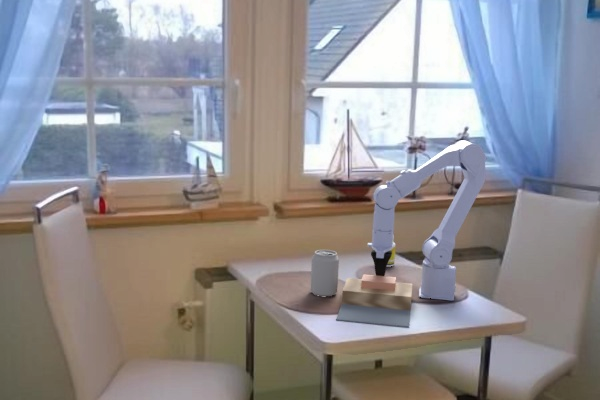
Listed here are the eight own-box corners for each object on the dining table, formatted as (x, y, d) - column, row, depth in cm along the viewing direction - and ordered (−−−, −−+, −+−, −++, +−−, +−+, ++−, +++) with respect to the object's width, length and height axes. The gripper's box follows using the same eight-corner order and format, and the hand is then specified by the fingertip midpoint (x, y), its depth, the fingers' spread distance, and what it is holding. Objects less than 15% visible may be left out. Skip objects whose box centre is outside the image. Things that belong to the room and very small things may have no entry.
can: (328, 300, 196) (330, 257, 194) (305, 294, 200) (307, 252, 198) (342, 293, 203) (344, 251, 200) (319, 287, 206) (320, 246, 204)
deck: (411, 297, 201) (412, 283, 201) (410, 311, 190) (411, 296, 189) (346, 291, 204) (347, 277, 204) (341, 304, 193) (342, 290, 192)
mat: (410, 311, 190) (410, 310, 190) (408, 327, 178) (409, 326, 178) (341, 304, 193) (341, 303, 193) (336, 320, 181) (336, 319, 181)
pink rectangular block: (395, 284, 199) (396, 277, 199) (394, 290, 194) (395, 283, 193) (363, 281, 201) (363, 274, 200) (361, 287, 195) (361, 280, 195)
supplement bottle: (397, 264, 234) (399, 235, 232) (389, 268, 229) (391, 238, 227) (381, 261, 236) (383, 232, 235) (374, 265, 232) (376, 235, 230)
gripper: (370, 222, 207) (368, 268, 210) (366, 233, 193) (363, 282, 196) (395, 224, 206) (392, 270, 209) (392, 236, 192) (389, 285, 195)
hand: (380, 276), depth 202 cm, fingers closed
